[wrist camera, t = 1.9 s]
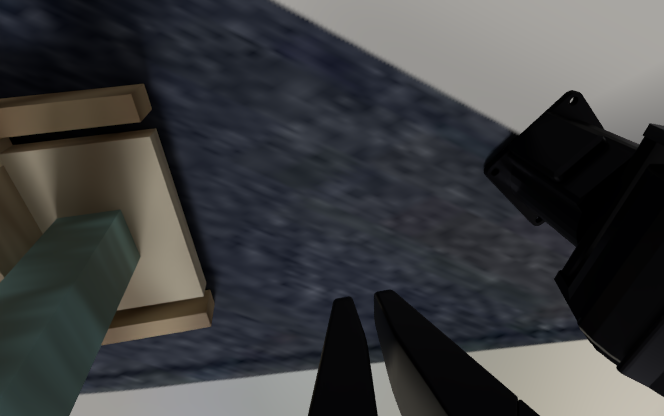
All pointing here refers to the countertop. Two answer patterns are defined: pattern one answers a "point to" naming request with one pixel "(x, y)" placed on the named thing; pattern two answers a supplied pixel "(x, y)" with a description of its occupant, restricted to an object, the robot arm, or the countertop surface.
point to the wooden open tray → (82, 257)
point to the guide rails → (96, 112)
